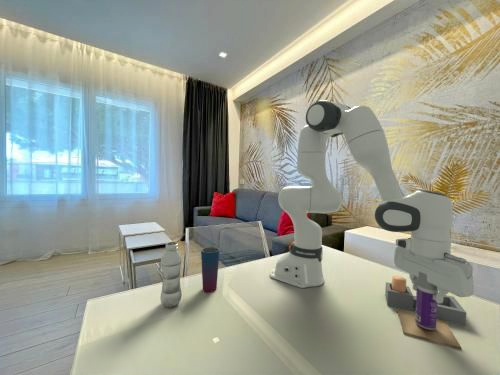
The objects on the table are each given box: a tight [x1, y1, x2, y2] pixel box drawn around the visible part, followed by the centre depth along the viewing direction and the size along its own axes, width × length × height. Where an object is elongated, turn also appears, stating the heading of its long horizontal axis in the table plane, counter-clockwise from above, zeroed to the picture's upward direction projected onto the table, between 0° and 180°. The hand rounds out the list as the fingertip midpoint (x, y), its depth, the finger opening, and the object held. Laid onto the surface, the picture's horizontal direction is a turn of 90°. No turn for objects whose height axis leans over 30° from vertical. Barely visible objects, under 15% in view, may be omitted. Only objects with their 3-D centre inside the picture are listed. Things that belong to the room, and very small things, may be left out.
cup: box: [200, 246, 221, 294], centre depth 82 cm, size 7×7×15 cm
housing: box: [384, 281, 467, 327], centre depth 74 cm, size 20×10×5 cm, turn 64°
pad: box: [396, 308, 462, 351], centre depth 63 cm, size 12×12×1 cm
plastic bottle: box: [160, 241, 183, 308], centre depth 72 cm, size 6×7×20 cm
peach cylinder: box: [391, 275, 407, 293], centre depth 76 cm, size 4×4×8 cm
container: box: [415, 272, 439, 330], centre depth 63 cm, size 5×5×15 cm
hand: (426, 295), depth 63 cm, fingers closed on container, 5 cm apart
